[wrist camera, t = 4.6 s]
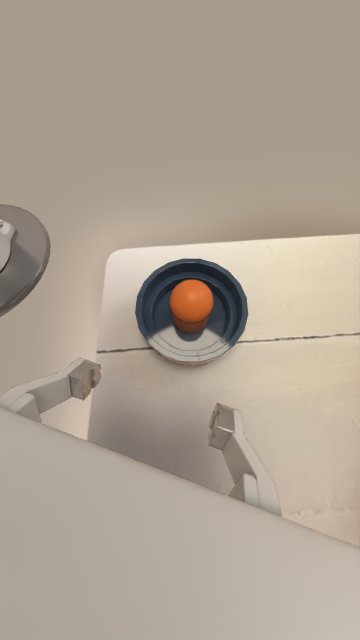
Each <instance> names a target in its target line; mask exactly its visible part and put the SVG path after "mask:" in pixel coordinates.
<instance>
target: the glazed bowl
mask: <svg viewBox="0 0 360 640" xmlns="http://www.w3.org/2000/svg"><path fill="white" fill-rule="evenodd" d="M191 279H192V280H198V281H201V282H203V283H204V284H206V285H207V286H208V287H209V289H210V290H211V292H212V295H213V309H212V312H211V314H210V316H209V318H208V321H207V323H206V325H205V327H204V328H203V329H202V330H201V331H199V332H197V333H192V334H189V333H184V332H182V331H180V330H179V329H178V328H177V327H176V326H175V324H174V321H173V317H172V312H171V308H170V297H171V293H172V291H173V290H174V288H175V287H176V286H177V285H178V284H179V283H181V282H183V281H185V280H191ZM135 313H136V318H137V322H138V327H139V329H140V331H141V333H142V334H143V336H144V337H145V339H146V341H147V342H148V344H149V345H150V346H151V347H152V348H153V349H154V350H156V351H157V352H158V353H159V354H161V355H162V356H163V357H164V358H165V359H167V360H170V361H173V362H175V363H178V364H181V365H200V364H203V363H207V362H210V361H213V360H215V359H216V358H218V357H219V356H220V355H222V354H223V353H225V352H226V351H227V350H229V349H230V348H232V347H233V346H234V345H235V344H236V342H237V341H238V339H239V338H240V336H241V335H242V333H243V332H244V329H245V325H246V321H247V317H248V307H247V298H246V296H245V293H244V291H243V289H242V287H241V285H240V283H239V282H238V281H237V280H236V279H235V278H234V276H233V275H232V274H231V273H230V272H229V271H228V270H226V269H224V268H223V267H221V266H219V265H218V264H216V263H213V262H209V261H206V260H202V259H180V260H176V261H173V262H169V263H167V264H165V265H164V266H162V267H160V268H158V269H157V270H155V271H154V272H153V273H152V274H151V275H150V276H149V277H148V278H147V279H146V280H145V281H144V283H143V285H142V287H141V289H140V291H139V294H138V296H137V302H136V310H135Z"/></svg>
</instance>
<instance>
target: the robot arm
mask: <svg viewBox="0 0 360 640" xmlns="http://www.w3.org/2000/svg"><path fill="white" fill-rule="evenodd" d="M14 233H15V227H13V226H12V225H11V224H9V223H7V222H5V221H3V220H1V219H0V271H1V270H2V269H3V267H4V266H5V264H6V262H7V261H8V258H9V255H10V250H11V239H12V237H13V235H14ZM100 369H101V365H99V364H97V363H94V362H91V361H88V360H85V359H82V358H78V359H76V360H75V361H74V362H73V363H71V364H70V365H69V366H68V367H67V368H65V369H64V370H63V371H62V372H60V373H54V374H51V375H48V376H45V377H42V378H39V379H36V380H33V381H30V382H26V383H24V384H20V385H17V386H14V387H12V388H11V389H10V390H8V391H7V392H5V393H4V394H2V395H1V396H0V640H360V547H358V546H355V545H353V544H350V543H348V542H345V541H342V540H340V539H337V538H335V537H332V536H330V535H327V534H324V533H322V532H319V531H317V530H314V529H312V528H309V527H306V526H304V525H301V524H299V523H296V522H294V521H291V520H288V519H286V518H283V517H282V515H281V510H280V505H279V500H278V495H277V491H276V486H275V483H274V481H273V479H272V478H271V476H270V475H269V473H268V471H267V470H266V468H265V467H264V465H263V463H262V462H261V460H260V458H259V457H258V455H257V454H256V452H255V450H254V449H253V447H252V446H251V444H250V442H249V441H248V439H247V438H246V437H244V430H243V421H242V412H241V411H240V410H237V409H234V408H231V407H228V406H225V405H222V404H219V403H217V404H216V406H215V411H213V413H212V416H211V420H210V429H211V431H210V433H209V442H208V445H209V446H212V447H215V448H217V449H220V450H222V453H223V455H224V458H225V460H226V463H227V465H228V468H229V470H230V473H231V475H232V478H233V480H234V483H235V487H234V488H233V489H232V491H231V492H230V493H229V495H228V496H227V495H224V494H222V493H219V492H217V491H214V490H211V489H209V488H206V487H204V486H201V485H199V484H196V483H193V482H191V481H188V480H186V479H183V478H181V477H178V476H175V475H173V474H170V473H168V472H165V471H163V470H160V469H157V468H155V467H152V466H150V465H147V464H145V463H142V462H140V461H137V460H134V459H132V458H129V457H127V456H124V455H122V454H119V453H116V452H114V451H111V450H109V449H106V448H104V447H101V446H98V445H96V444H93V443H91V442H88V441H86V440H83V439H80V438H78V437H75V436H73V435H70V434H67V433H65V432H62V431H60V430H57V429H55V428H52V427H50V426H47V425H45V424H42V423H41V418H40V414H41V413H42V412H44V411H46V410H48V409H50V408H52V407H54V406H56V405H57V404H60V403H62V402H63V401H65V400H67V399H69V398H71V397H76V398H79V399H82V400H84V399H85V398H86V397H87V396H88V395H89V394H90V392H91V389H92V388H94V387H96V385H97V384H98V383H99V381H100V378H101V373H100V371H99V370H100Z"/></svg>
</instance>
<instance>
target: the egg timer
mask: <svg viewBox="0 0 360 640" xmlns="http://www.w3.org/2000/svg"><path fill="white" fill-rule="evenodd" d="M170 308H171V312H172V317H173V321H174V324H175V326H176V327H177V328H178V329H179V330H180V331H182V332H184V333H189V334H192V333H197V332H199V331H201V330H202V329H203V328H204V327H205V325H206V323H207V321H208V318H209V316H210V314H211V312H212V309H213V295H212V292H211V290H210V289H209V287H208V286H207V285H206V284H204V283H203V282H201V281H198V280H192V279H191V280H185V281H183V282H181V283H179V284H178V285H177V286H176V287H175V288H174V290H173V291H172V293H171V297H170Z"/></svg>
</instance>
